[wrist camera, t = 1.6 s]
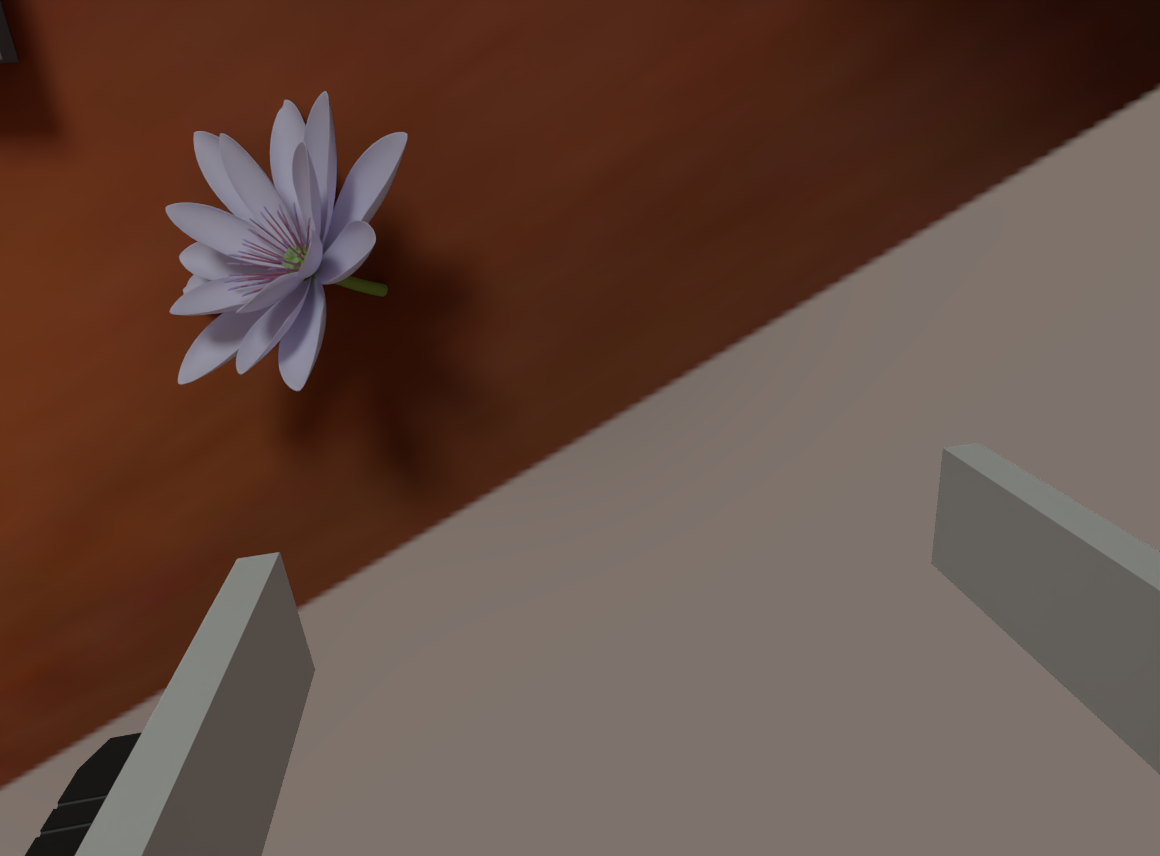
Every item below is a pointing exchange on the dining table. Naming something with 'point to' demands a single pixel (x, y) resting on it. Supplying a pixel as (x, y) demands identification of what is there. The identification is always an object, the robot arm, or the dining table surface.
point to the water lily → (278, 242)
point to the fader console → (6, 41)
